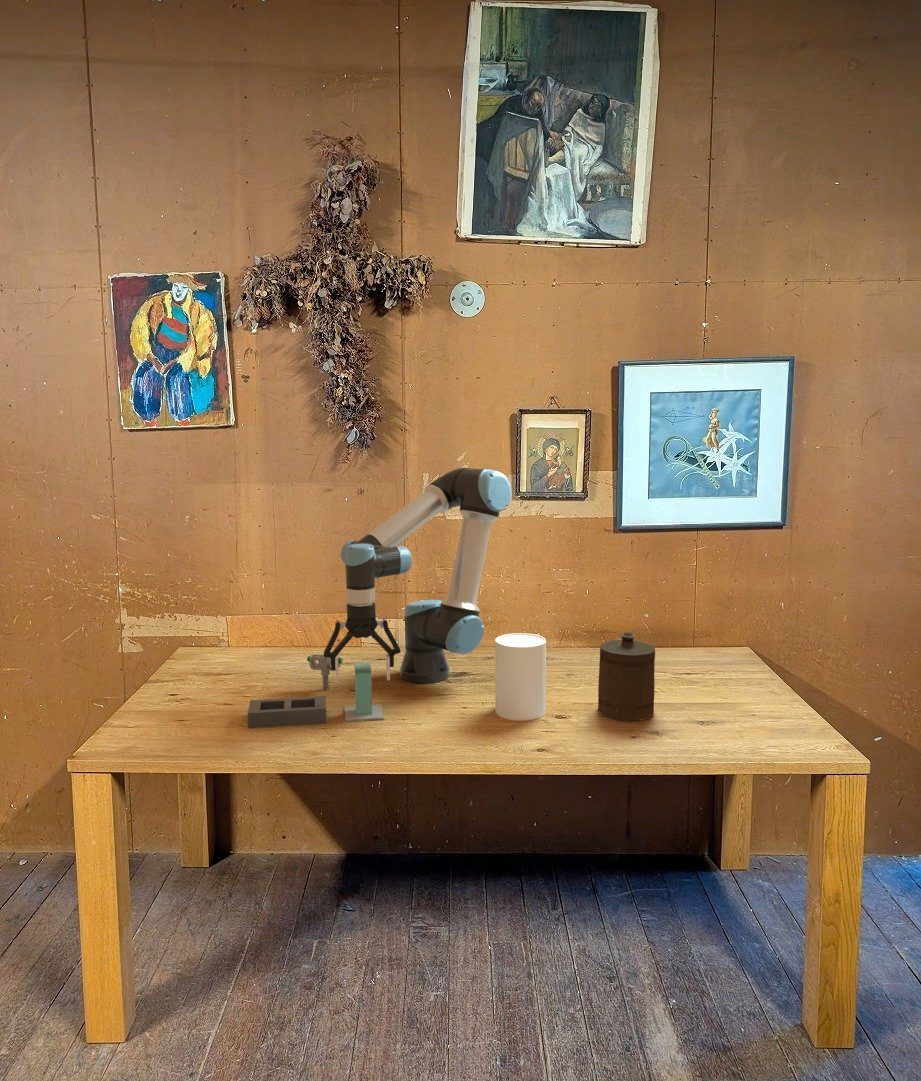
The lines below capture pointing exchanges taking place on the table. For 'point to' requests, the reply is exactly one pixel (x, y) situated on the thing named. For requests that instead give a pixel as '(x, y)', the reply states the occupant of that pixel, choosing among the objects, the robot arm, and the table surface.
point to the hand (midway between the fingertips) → (362, 680)
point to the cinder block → (287, 711)
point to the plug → (363, 689)
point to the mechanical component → (322, 666)
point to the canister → (520, 676)
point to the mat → (352, 717)
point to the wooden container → (626, 679)
